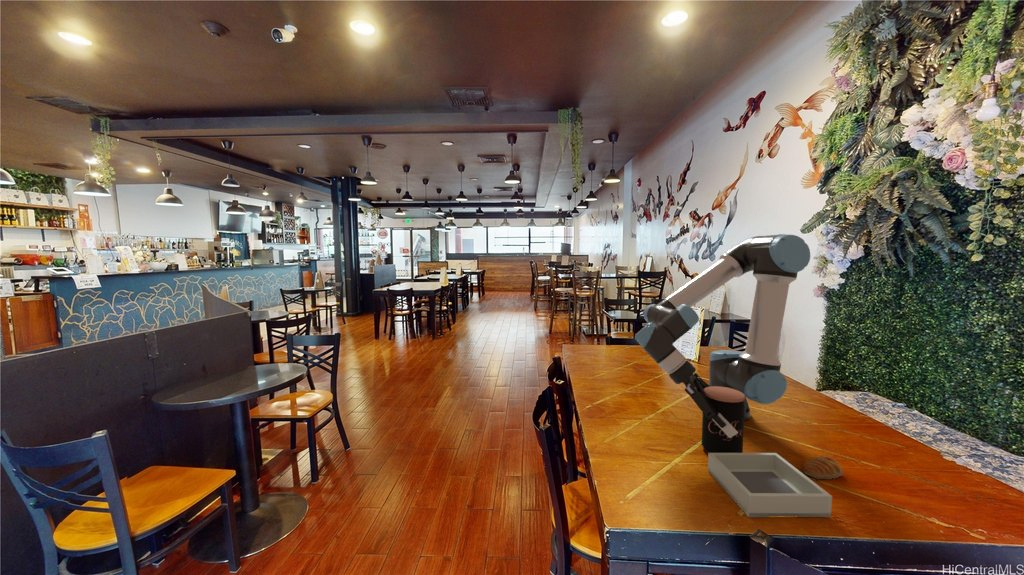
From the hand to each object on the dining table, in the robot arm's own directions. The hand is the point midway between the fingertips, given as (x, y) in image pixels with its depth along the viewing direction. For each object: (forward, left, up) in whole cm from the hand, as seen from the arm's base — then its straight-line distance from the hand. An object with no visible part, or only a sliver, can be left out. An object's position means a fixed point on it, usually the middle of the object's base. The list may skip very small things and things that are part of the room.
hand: (733, 427), depth 108 cm
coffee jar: (+3, -1, -8) cm, 9 cm away
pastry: (-18, +9, -9) cm, 22 cm away
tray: (+3, +18, -8) cm, 20 cm away
